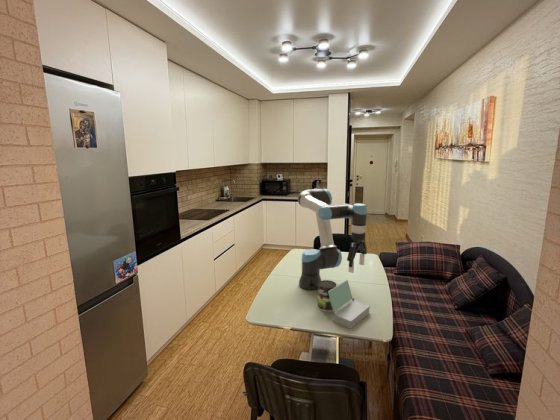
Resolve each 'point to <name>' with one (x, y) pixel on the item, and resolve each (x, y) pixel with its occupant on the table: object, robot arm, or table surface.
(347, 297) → the cover
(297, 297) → the table surface
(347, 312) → the white lidded box
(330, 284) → the coffee can
